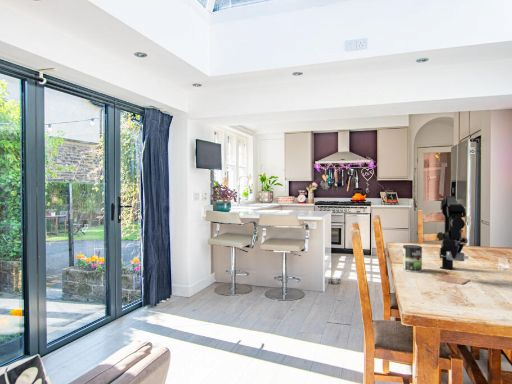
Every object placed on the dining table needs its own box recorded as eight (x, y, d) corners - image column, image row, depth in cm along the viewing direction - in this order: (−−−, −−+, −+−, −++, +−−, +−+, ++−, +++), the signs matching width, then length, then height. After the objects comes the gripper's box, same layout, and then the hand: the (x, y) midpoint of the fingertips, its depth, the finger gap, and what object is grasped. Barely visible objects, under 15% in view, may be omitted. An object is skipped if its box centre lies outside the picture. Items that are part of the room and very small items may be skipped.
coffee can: (425, 271, 211) (426, 247, 210) (410, 272, 208) (410, 248, 208) (413, 267, 221) (413, 244, 220) (399, 268, 218) (399, 245, 218)
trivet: (445, 276, 199) (445, 275, 199) (470, 280, 190) (470, 279, 190) (436, 280, 191) (436, 278, 191) (461, 284, 182) (461, 283, 182)
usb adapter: (445, 259, 193) (445, 251, 193) (448, 258, 196) (448, 251, 196) (466, 262, 186) (466, 254, 186) (468, 261, 188) (468, 253, 188)
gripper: (445, 225, 204) (445, 254, 204) (432, 227, 191) (432, 257, 191) (467, 227, 196) (467, 256, 195) (455, 229, 183) (455, 260, 183)
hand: (455, 257), depth 191 cm, fingers closed on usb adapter, 4 cm apart
